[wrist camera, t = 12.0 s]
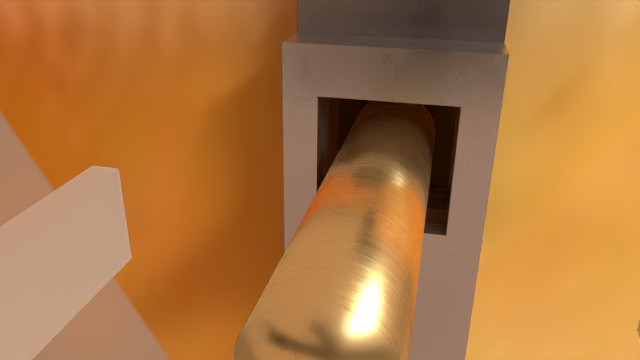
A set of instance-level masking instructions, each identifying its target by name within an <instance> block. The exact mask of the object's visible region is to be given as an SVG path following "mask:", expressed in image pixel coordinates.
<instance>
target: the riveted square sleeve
mask: <svg viewBox="0 0 640 360" xmlns="http://www.w3.org/2000/svg"><path fill="white" fill-rule="evenodd" d="M509 5H510V0H297V33H295V34H294V35H292V36H291V37H289V38H287V39H286V40H284V41H283V42H282V93H283V171H284V248H285V250H286V248H287V247H288V245H289V243H290V241H291V239H292V237H293V235H294V234H295V232H296V230H297V228H298V226H299V224H300V223H301V221H302V219H303V217H304V215H305V213H306V211H307V210H308V208H309V206H310V204H311V202H312V200H313V199H314V197H315V195H316V193H317V191H318V189H319V187H320V186H321V184H322V182H323V180H324V178H325V176H326V174H327V173H328V171H329V169H330V167H331V165H332V163H333V162H334V160H335V158H336V156H337V154H338V131H339V98H346V99H360V100H374V101H388V102H401V103H415V104H429V105H443V106H456V107H457V116H456V125H455V133H454V142H453V151H452V160H451V169H450V178H449V186H448V189H444V188H434V187H429V193H428V201H427V209H426V218H425V226H424V234H423V243H422V251H421V260H420V268H419V276H418V285H417V293H416V301H415V310H414V318H413V327H412V335H411V343H410V352H409V360H465V355H466V348H467V341H468V334H469V327H470V320H471V313H472V306H473V299H474V292H475V286H476V279H477V272H478V265H479V258H480V251H481V244H482V237H483V230H484V223H485V216H486V209H487V203H488V196H489V189H490V182H491V175H492V168H493V161H494V154H495V147H496V140H497V133H498V126H499V120H500V113H501V106H502V99H503V92H504V85H505V78H506V71H507V64H508V57H509V54H508V51H507V48H506V46H505V43H504V40H505V33H506V26H507V19H508V12H509Z"/></svg>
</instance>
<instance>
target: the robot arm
mask: <svg viewBox="0 0 640 360" xmlns="http://www.w3.org/2000/svg"><path fill="white" fill-rule="evenodd" d="M131 259H132V257H131V250H130V243H129V236H128V229H127V222H126V216H125V209H124V202H123V195H122V188H121V181H120V174H119V168H111V167H101V166H91V167H89V168H88V169H86V170H85V171H83V172H82V173H80V174H79V175H77V176H76V177H74V178H73V179H71V180H70V181H68V182H67V183H65V184H64V185H62V186H61V187H59V188H58V189H56V190H55V191H53V192H52V193H50V194H49V195H47V196H46V197H44V198H43V199H41V200H40V201H38V202H37V203H35V204H34V205H32V206H31V207H29V208H27V209H26V210H25V211H23V212H21V213H20V214H18V215H17V216H15V217H14V218H12V219H11V220H10V221H8V222H6V223H5V224H3V225H2V226H0V360H32V359H33V358H34V357H35V356H36V355H37V354H38V353H39V352H40V351H41V350H42V349H43V348H44V347H45V346H46V345H47V344H48V343H49V342H50V341H51V340H52V339H53V338H54V337H55V336H56V335H57V334H58V333H59V332H60V331H61V330H62V329H63V328H64V326H66V325H67V324H68V323H69V322H70V321H71V319H72V318H73V317H74V316H75V315H76V314H77V313H78V312H79V311H80V310H81V309H82V308H83V307H84V306H85V305H86V304H87V303H88V302H89V301H90V300H91V299H92V298H93V297H94V296H95V295H96V294H97V293H98V292H99V291H100V290H101V289H102V288H103V287H104V286H105V285H106V284H107V283H108V282H109V281H110V280H111V279H112V278H113V277H114V276H115V275H116V274H117V273H118V272H119V271H120V270H121V269H122V268H123V267H124V266H125V265H126V264H127V263H128V262H129V261H130V260H131ZM637 332H638V334H639V336H640V322H639V325H638V328H637Z"/></svg>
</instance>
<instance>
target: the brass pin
mask: <svg viewBox="0 0 640 360" xmlns="http://www.w3.org/2000/svg"><path fill="white" fill-rule="evenodd" d="M434 142H435V125H434V121H433V118H432V116H431V114H430V113H429V111H428V110H427V109H426V107H425V106H424V105H423V104H415V103H401V102H388V101H374V100H371V101H370V102H369V103H367V105H366V106H365V107H364V108H363V109H362V110H361V112H360V114H359V115H358V117H357V119H356V121H355V123H354V125H353V126H352V128H351V130H350V132H349V134H348V136H347V138H346V139H345V141H344V143H343V145H342V147H341V149H340V150H339V152H338V154H337V156H336V158H335V160H334V162H333V163H332V165H331V167H330V169H329V171H328V173H327V174H326V176H325V178H324V180H323V182H322V184H321V186H320V187H319V189H318V191H317V193H316V195H315V197H314V199H313V200H312V202H311V204H310V206H309V208H308V210H307V211H306V213H305V215H304V217H303V219H302V221H301V223H300V224H299V226H298V228H297V230H296V232H295V234H294V235H293V237H292V239H291V241H290V243H289V245H288V247H287V248H286V250H285V252H284V254H283V256H282V258H281V259H280V261H279V263H278V265H277V267H276V269H275V271H274V272H273V274H272V276H271V278H270V280H269V282H268V283H267V285H266V287H265V289H264V291H263V293H262V295H261V296H260V298H259V300H258V302H257V304H256V306H255V307H254V309H253V311H252V313H251V315H250V317H249V319H248V320H247V322H246V324H245V326H244V328H243V330H242V331H241V333H240V335H239V337H238V340H237V343H236V346H235V352H234V360H409V352H410V343H411V335H412V327H413V318H414V310H415V301H416V293H417V285H418V276H419V268H420V260H421V251H422V243H423V234H424V226H425V218H426V209H427V201H428V193H429V184H430V176H431V167H432V159H433V151H434Z"/></svg>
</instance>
